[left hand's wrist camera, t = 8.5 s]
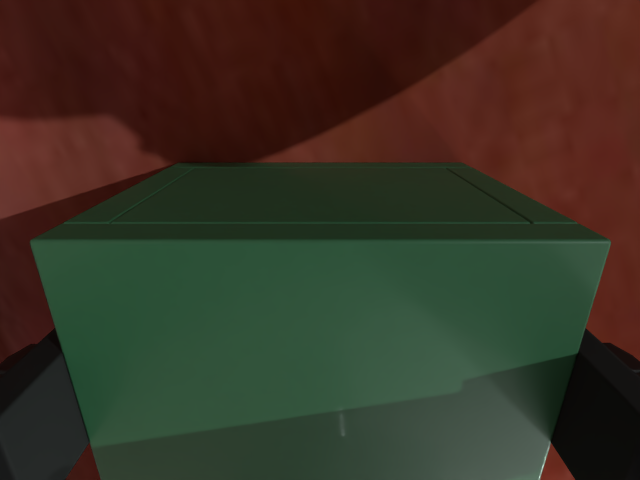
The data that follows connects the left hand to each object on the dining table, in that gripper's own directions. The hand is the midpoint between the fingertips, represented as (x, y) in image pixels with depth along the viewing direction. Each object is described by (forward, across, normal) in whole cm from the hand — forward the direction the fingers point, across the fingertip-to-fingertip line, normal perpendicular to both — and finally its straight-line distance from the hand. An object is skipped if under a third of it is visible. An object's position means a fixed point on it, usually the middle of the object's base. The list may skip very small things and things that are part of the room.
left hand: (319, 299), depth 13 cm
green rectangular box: (+4, 0, -6) cm, 7 cm away
